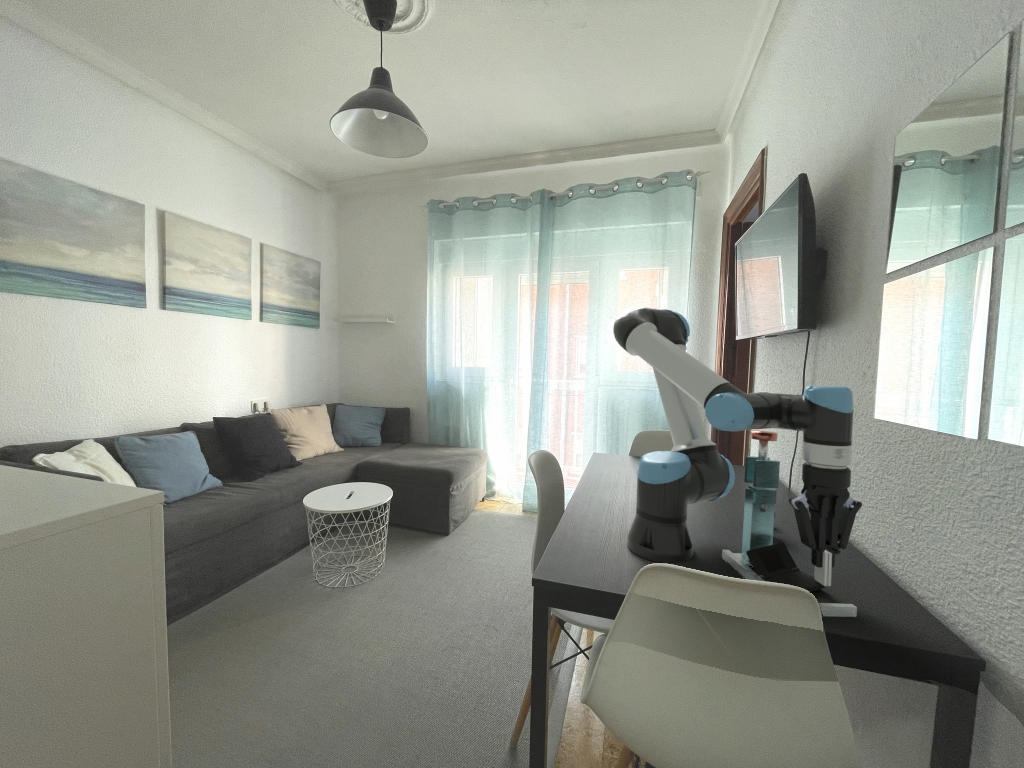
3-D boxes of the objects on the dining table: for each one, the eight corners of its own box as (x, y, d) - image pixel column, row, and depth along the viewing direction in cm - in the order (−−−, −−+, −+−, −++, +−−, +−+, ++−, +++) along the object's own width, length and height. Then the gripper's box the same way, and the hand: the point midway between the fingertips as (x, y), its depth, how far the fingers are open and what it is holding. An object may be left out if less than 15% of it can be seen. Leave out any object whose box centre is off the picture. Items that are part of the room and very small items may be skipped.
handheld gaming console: (780, 607, 78) (788, 596, 76) (739, 560, 86) (745, 550, 85) (819, 595, 81) (828, 585, 80) (775, 552, 90) (783, 541, 88)
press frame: (783, 615, 72) (792, 483, 71) (719, 555, 94) (725, 455, 93) (856, 618, 72) (866, 486, 71) (775, 557, 94) (781, 457, 93)
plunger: (757, 467, 88) (759, 433, 88) (744, 462, 93) (746, 429, 93) (780, 468, 88) (782, 434, 88) (766, 463, 93) (768, 430, 93)
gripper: (807, 469, 75) (803, 592, 76) (876, 469, 75) (871, 593, 76) (780, 460, 82) (777, 572, 83) (843, 460, 82) (839, 573, 83)
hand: (822, 582), depth 79 cm, fingers closed
